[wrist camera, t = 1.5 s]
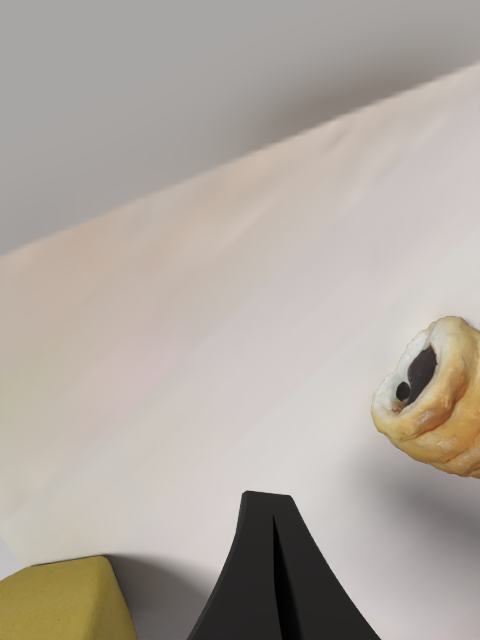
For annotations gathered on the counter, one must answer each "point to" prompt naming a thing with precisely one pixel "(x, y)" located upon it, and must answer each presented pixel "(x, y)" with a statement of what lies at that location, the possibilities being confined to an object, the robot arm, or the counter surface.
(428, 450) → the pastry
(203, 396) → the counter surface
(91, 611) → the flower pot
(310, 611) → the robot arm
